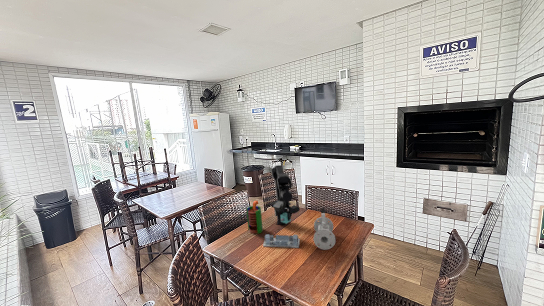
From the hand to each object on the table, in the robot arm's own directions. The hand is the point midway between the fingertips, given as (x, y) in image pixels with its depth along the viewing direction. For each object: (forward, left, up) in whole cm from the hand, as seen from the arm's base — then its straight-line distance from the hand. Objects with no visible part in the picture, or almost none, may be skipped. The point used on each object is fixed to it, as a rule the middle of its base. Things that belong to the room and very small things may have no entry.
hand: (285, 219), depth 138 cm
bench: (+8, -2, -11) cm, 14 cm away
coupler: (0, 0, -1) cm, 1 cm away
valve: (+2, +23, -11) cm, 26 cm away
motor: (-6, -22, -11) cm, 25 cm away
